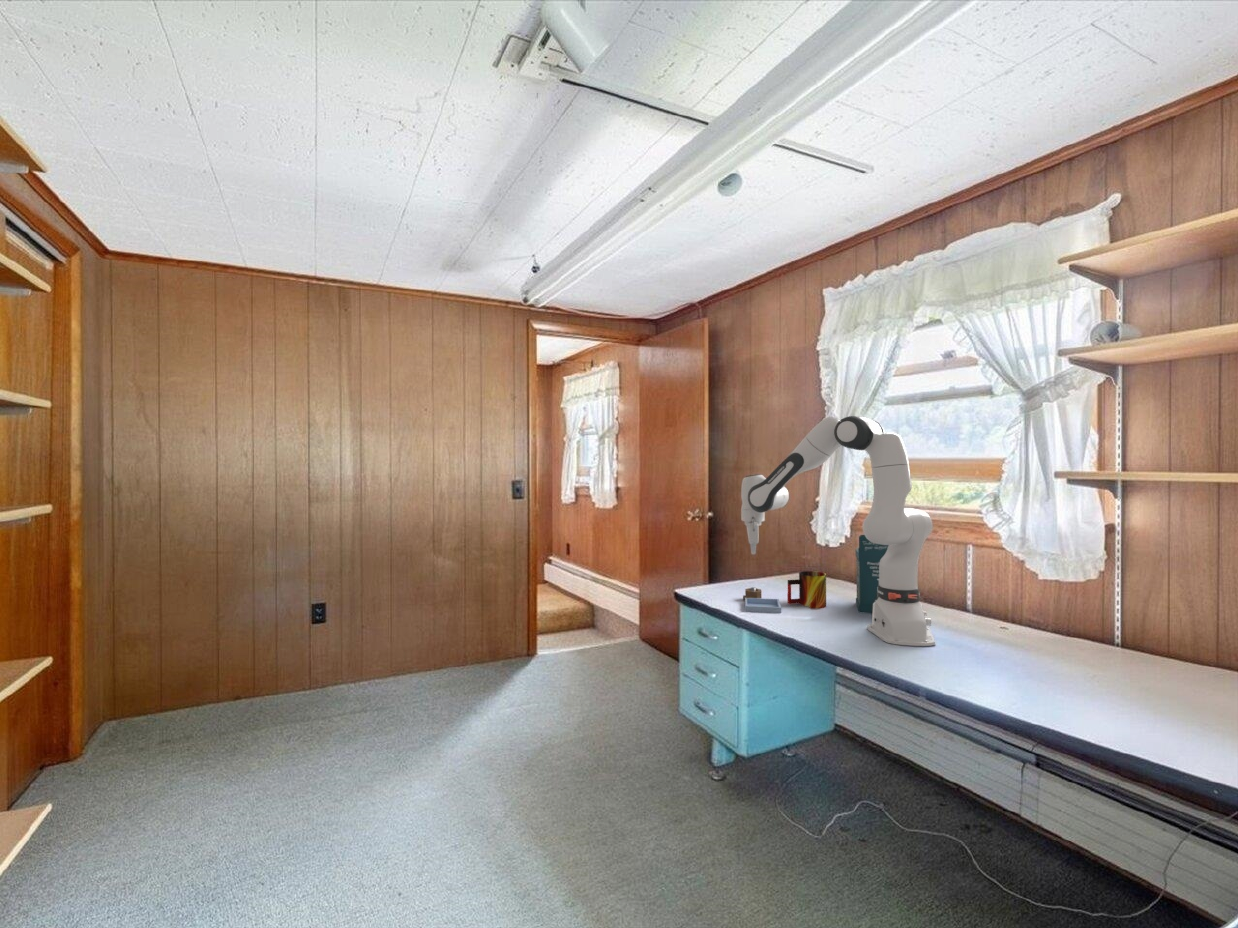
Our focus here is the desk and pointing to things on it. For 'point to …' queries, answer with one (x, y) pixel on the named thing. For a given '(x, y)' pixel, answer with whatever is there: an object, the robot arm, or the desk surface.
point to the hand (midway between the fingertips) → (753, 551)
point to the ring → (752, 593)
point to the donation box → (868, 573)
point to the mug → (809, 589)
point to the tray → (762, 605)
